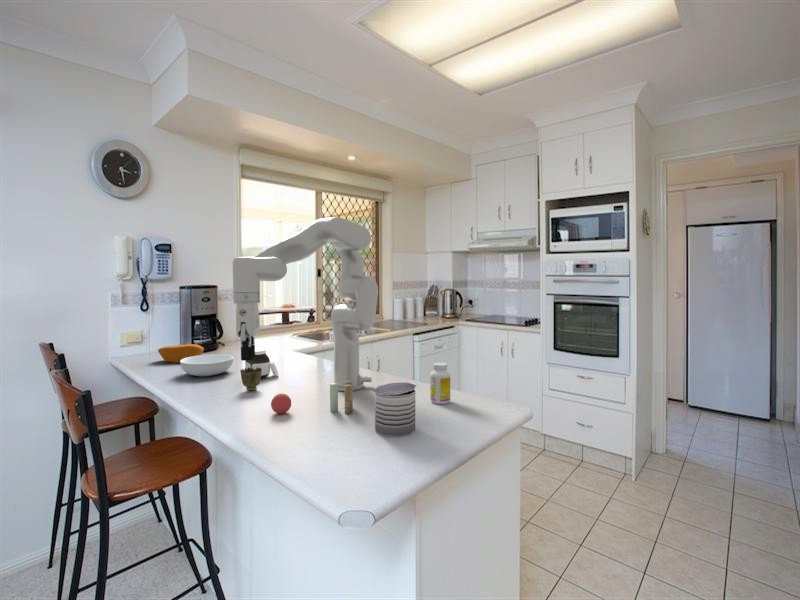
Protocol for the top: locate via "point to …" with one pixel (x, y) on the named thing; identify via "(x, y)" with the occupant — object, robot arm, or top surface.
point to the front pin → (333, 397)
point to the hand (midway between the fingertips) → (248, 358)
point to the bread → (180, 352)
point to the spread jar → (262, 363)
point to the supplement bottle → (440, 384)
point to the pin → (348, 399)
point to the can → (395, 409)
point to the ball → (281, 403)
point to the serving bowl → (206, 364)
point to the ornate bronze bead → (251, 378)
